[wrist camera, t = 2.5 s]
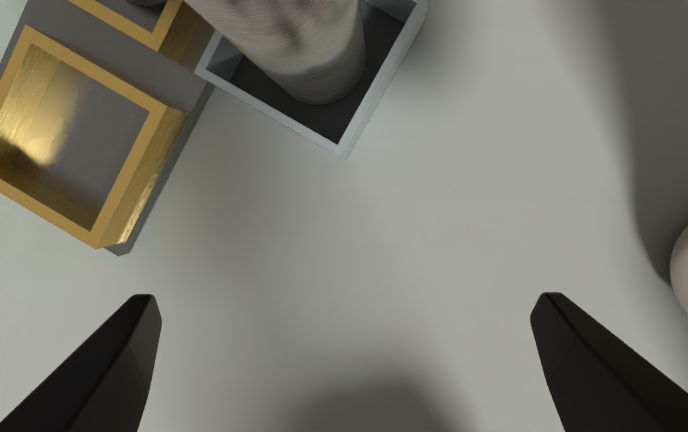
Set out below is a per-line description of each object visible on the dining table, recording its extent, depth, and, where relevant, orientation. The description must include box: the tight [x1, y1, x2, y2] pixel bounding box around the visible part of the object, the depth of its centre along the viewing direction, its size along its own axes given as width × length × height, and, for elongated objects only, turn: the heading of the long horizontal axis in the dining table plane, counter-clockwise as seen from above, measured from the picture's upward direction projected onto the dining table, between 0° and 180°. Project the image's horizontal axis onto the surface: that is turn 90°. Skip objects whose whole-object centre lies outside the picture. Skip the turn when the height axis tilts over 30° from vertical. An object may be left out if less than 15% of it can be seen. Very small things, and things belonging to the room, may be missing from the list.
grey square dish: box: [194, 0, 430, 160], centre depth 20 cm, size 8×8×3 cm
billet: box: [184, 0, 366, 105], centre depth 15 cm, size 5×5×13 cm
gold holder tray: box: [0, 0, 216, 256], centre depth 21 cm, size 18×10×3 cm, turn 150°
